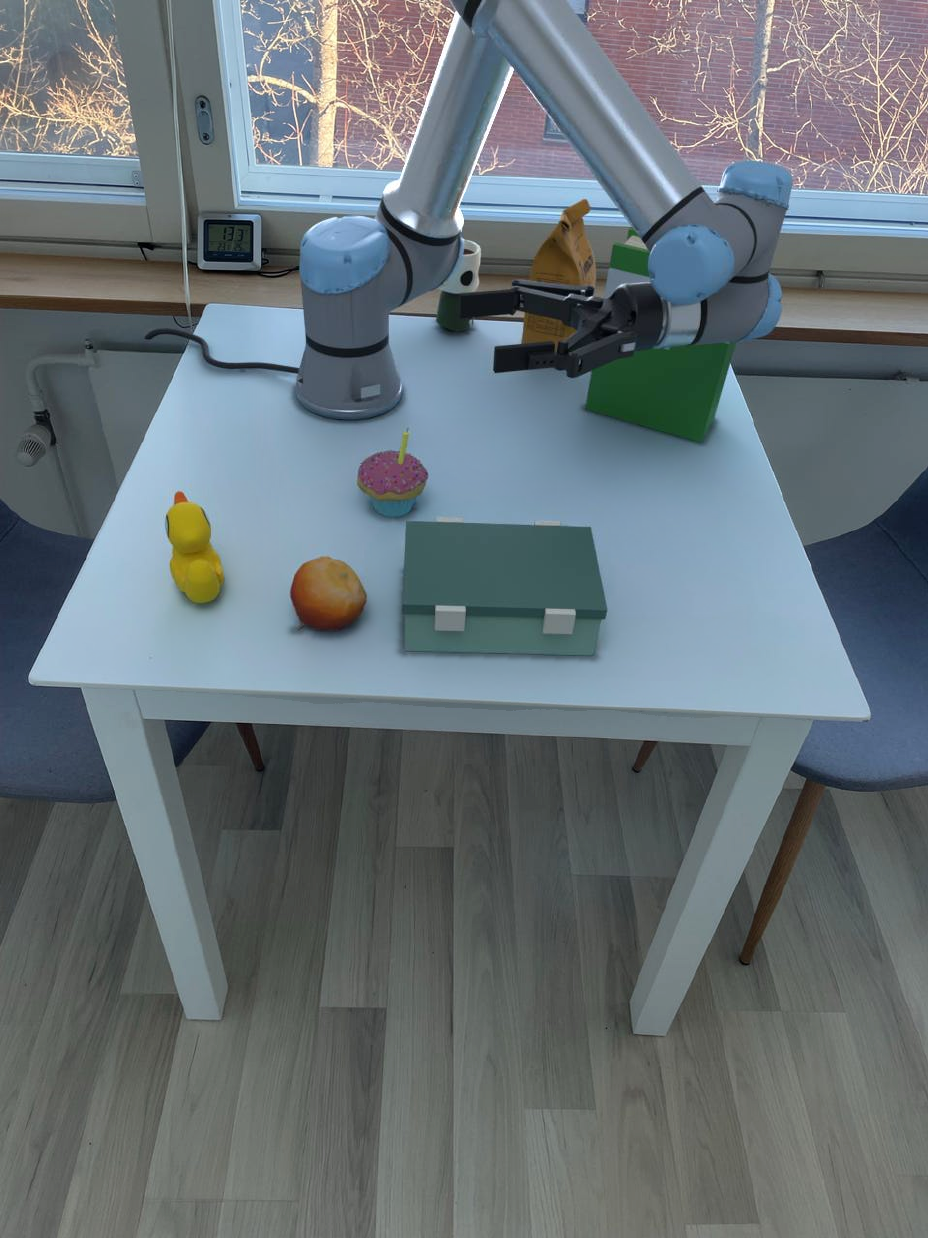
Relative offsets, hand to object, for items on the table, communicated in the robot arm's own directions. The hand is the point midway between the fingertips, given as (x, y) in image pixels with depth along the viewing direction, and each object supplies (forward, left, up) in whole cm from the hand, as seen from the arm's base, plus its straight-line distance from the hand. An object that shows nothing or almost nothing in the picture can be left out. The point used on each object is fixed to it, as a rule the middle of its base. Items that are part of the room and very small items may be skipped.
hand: (476, 331), depth 98 cm
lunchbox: (+13, -17, -22) cm, 31 cm away
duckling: (-17, -31, -22) cm, 42 cm away
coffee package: (-8, +44, -22) cm, 50 cm away
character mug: (-25, +42, -22) cm, 53 cm away
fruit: (-1, -28, -22) cm, 36 cm away
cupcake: (-7, -7, -22) cm, 24 cm away
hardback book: (+13, +33, -22) cm, 42 cm away
